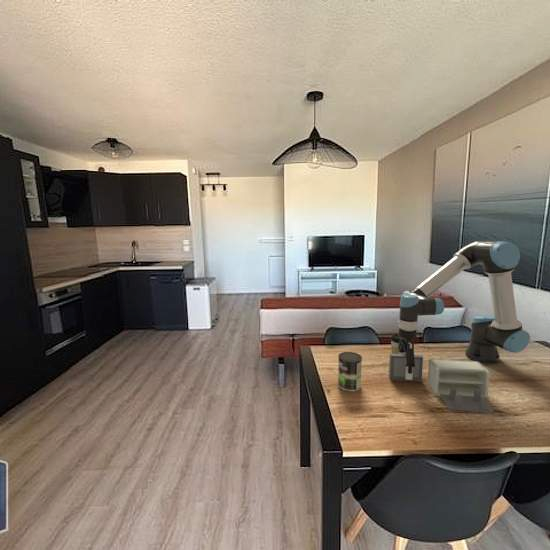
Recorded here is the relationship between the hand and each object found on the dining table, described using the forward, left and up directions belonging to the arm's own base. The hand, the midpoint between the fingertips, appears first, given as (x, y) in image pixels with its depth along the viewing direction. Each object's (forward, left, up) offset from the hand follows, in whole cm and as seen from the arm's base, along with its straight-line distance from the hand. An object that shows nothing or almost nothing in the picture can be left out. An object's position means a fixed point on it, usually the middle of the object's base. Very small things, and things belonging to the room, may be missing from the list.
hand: (404, 372), depth 142 cm
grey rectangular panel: (0, 0, -4) cm, 4 cm away
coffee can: (+26, +9, -4) cm, 28 cm away
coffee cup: (-1, -16, -4) cm, 17 cm away
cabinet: (-19, +13, -4) cm, 23 cm away
